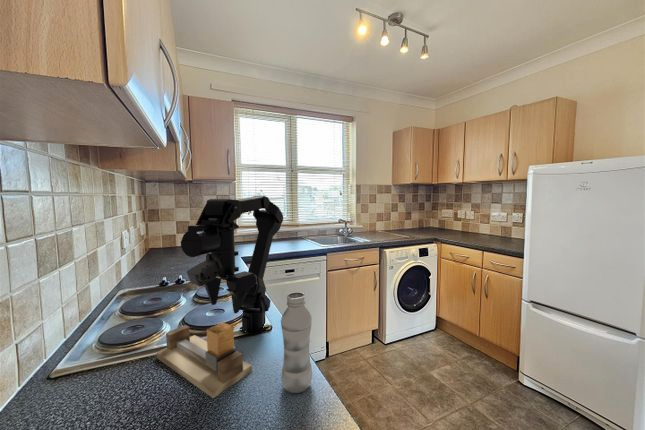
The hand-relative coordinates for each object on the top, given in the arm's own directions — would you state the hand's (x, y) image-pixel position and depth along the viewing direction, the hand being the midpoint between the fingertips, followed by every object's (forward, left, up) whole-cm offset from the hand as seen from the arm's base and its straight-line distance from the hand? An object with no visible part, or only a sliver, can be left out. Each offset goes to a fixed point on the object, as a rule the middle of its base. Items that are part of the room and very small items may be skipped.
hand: (224, 308), depth 68 cm
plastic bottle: (-1, +23, -12) cm, 26 cm away
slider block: (+6, +7, -9) cm, 13 cm away
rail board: (+6, -1, -12) cm, 13 cm away
